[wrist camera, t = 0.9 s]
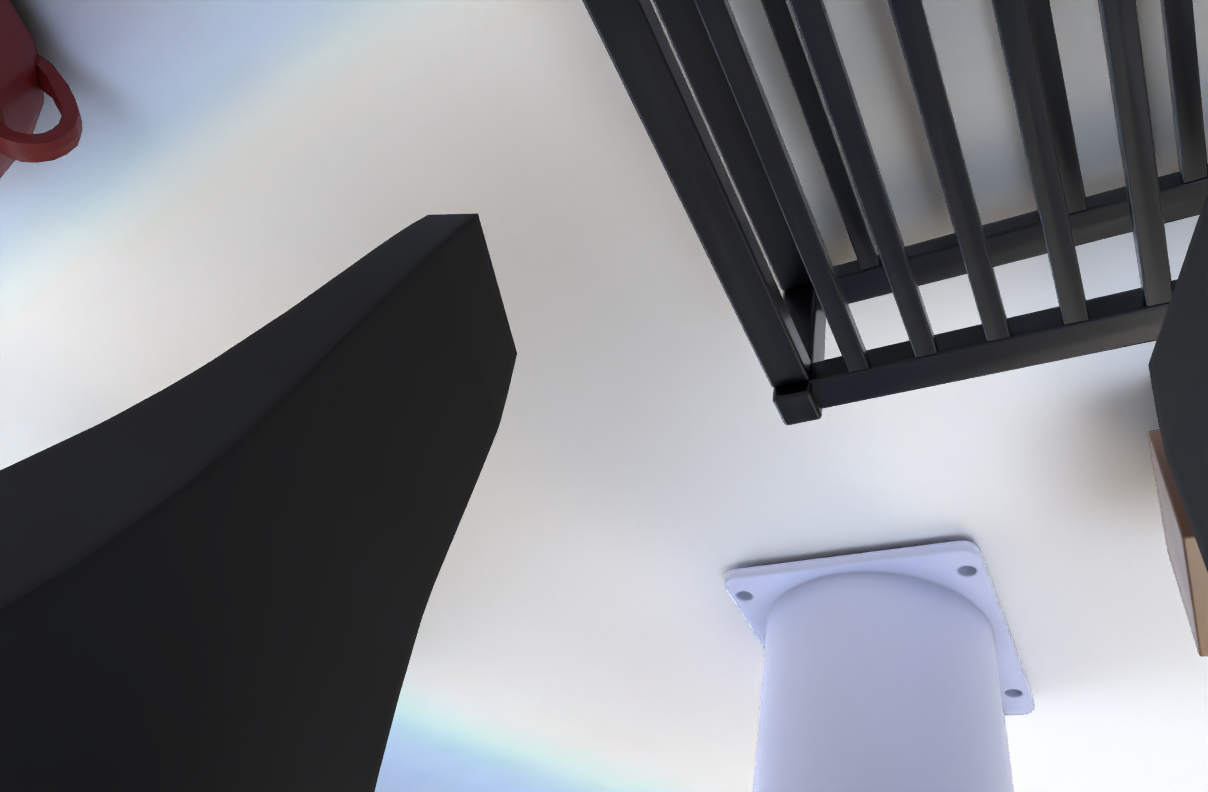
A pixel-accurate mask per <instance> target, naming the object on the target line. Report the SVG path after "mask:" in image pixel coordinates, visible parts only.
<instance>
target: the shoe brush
mask: <svg viewBox="0 0 1208 792" xmlns="http://www.w3.org/2000/svg"><path fill="white" fill-rule="evenodd" d="M1148 437H1149V443H1150V449H1151V455H1152V461H1153V467H1154V473H1155V479H1156V485H1157V491H1158V497H1159V503H1160V509H1161V515H1162V521H1163V527H1164V533H1165V539H1166V545H1167V551H1168V554H1169V558H1170V561H1171V564H1172V568H1173V571H1174V574H1175V577H1176V581H1177V584H1178V587H1179V591H1180V594H1181V597H1182V601H1183V604H1184V607H1185V610H1186V614H1187V617H1188V620H1189V624H1190V627H1191V630H1192V633H1193V637H1194V640H1195V643H1196V647H1197V650H1198V653H1199V655H1200V656H1202V657H1203V656H1208V572H1207V569H1206V567H1205V564H1204V561H1203V558H1202V556H1201V553H1200V550H1199V548H1198V545H1197V542H1196V539H1195V537H1194V534H1193V531H1192V528H1191V526H1190V523H1189V520H1188V517H1187V515H1186V512H1185V509H1184V506H1183V503H1182V500H1181V498H1180V495H1179V492H1178V489H1177V486H1176V484H1175V481H1174V478H1173V475H1172V472H1171V469H1170V466H1169V463H1168V460H1167V457H1166V455H1165V451H1164V446H1163V441H1162V437H1161V432H1160V429H1159V430H1153V431H1149V432H1148Z"/></svg>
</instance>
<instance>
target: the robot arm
mask: <svg viewBox="0 0 1208 792" xmlns="http://www.w3.org/2000/svg"><path fill="white" fill-rule="evenodd" d="M516 356H517V352H516V348H515V344H514V341H513V337H512V334H511V330H510V327H509V323H508V319H507V316H506V312H505V309H504V305H503V302H502V298H501V295H500V291H499V287H498V284H497V280H496V277H495V273H494V270H493V266H492V262H491V259H490V255H489V252H488V248H487V245H486V241H485V237H484V234H483V230H482V227H481V223H480V220H479V216H478V214H446V215H427V216H425V217H424V218H422V219H420V220H418V221H416V222H415V223H413V224H411V225H410V226H408V227H406V228H405V229H403V230H402V231H400V232H399V233H397V234H396V235H394V236H393V237H391V238H390V239H388V240H387V241H385V242H384V243H383V244H381V245H380V246H378V247H377V248H375V249H374V250H373V251H371V252H370V253H368V254H367V255H365V256H364V257H363V258H361V259H360V260H358V261H357V262H356V263H354V264H353V265H351V266H350V267H349V268H347V269H346V270H344V271H343V272H342V273H340V274H339V275H337V276H336V277H335V278H333V279H332V280H330V281H329V282H328V283H326V284H325V285H323V286H322V287H321V288H319V289H318V290H316V291H315V292H314V293H312V294H311V295H309V296H308V297H307V298H305V299H304V300H302V301H301V302H300V303H298V304H297V305H295V306H294V307H292V308H291V309H290V310H288V311H287V312H285V313H284V314H282V315H281V316H279V317H278V318H276V319H275V320H273V321H271V322H270V323H268V324H267V325H265V326H264V327H262V328H261V329H259V330H258V331H256V332H255V333H253V334H252V335H250V336H249V337H247V338H246V339H244V340H243V341H241V342H240V343H238V344H237V345H235V346H234V347H232V348H230V349H229V350H227V351H226V352H224V353H223V354H221V355H220V356H218V357H217V358H215V359H214V360H212V361H211V362H209V363H207V364H206V365H204V366H202V367H201V368H199V369H198V370H196V371H194V372H193V373H191V374H189V375H188V376H186V377H184V378H182V379H181V380H179V381H177V382H176V383H174V384H172V385H170V386H169V387H167V388H165V389H163V390H162V391H160V392H158V393H156V394H154V395H152V396H151V397H149V398H147V399H145V400H143V401H141V402H140V403H138V404H136V405H134V406H132V407H130V408H129V409H127V410H125V411H123V412H121V413H119V414H118V415H116V416H114V417H112V418H110V419H108V420H106V421H104V422H102V423H100V424H98V425H96V426H94V427H92V428H90V429H88V430H86V431H83V432H81V433H79V434H77V435H75V436H73V437H71V438H69V439H66V440H64V441H62V442H60V443H58V444H56V445H54V446H52V447H49V448H47V449H45V450H43V451H41V452H39V453H37V454H34V455H32V456H30V457H28V458H26V459H24V460H22V461H20V462H17V463H15V464H13V465H11V466H9V467H7V468H5V469H3V470H0V792H374V791H375V787H376V783H377V778H378V774H379V771H380V767H381V763H382V759H383V755H384V751H385V748H386V744H387V740H388V736H389V732H390V729H391V725H392V721H393V717H394V713H395V709H396V706H397V702H398V698H399V694H400V691H401V687H402V684H403V681H404V677H405V674H406V670H407V667H408V663H409V660H410V657H411V653H412V650H413V646H414V643H415V639H416V636H417V633H418V629H419V626H420V622H421V619H422V616H423V613H424V611H425V608H426V605H427V602H428V600H429V597H430V594H431V591H432V589H433V586H434V583H435V581H436V578H437V576H438V573H439V571H440V569H441V566H442V564H443V561H444V559H445V557H446V554H447V552H448V549H449V547H450V545H451V542H452V540H453V537H454V535H455V533H456V530H457V528H458V525H459V523H460V521H461V518H462V516H463V513H464V511H465V509H466V506H467V504H468V501H469V499H470V497H471V494H472V492H473V490H474V487H475V485H476V482H477V480H478V477H479V475H480V472H481V470H482V468H483V465H484V463H485V460H486V458H487V455H488V453H489V450H490V448H491V445H492V443H493V440H494V438H495V435H496V433H497V430H498V427H499V424H500V421H501V417H502V413H503V409H504V406H505V402H506V398H507V395H508V390H509V386H510V382H511V377H512V373H513V369H514V364H515V360H516ZM1149 371H1150V377H1151V383H1152V388H1153V394H1154V400H1155V406H1156V412H1157V417H1158V422H1159V427H1160V432H1161V437H1162V441H1163V446H1164V451H1165V455H1166V457H1167V460H1168V463H1169V466H1170V469H1171V472H1172V475H1173V478H1174V481H1175V484H1176V486H1177V489H1178V492H1179V495H1180V498H1181V500H1182V503H1183V506H1184V509H1185V512H1186V515H1187V517H1188V520H1189V523H1190V526H1191V528H1192V531H1193V534H1194V537H1195V539H1196V542H1197V545H1198V548H1199V550H1200V553H1201V556H1202V558H1203V561H1204V564H1205V567H1206V569H1207V572H1208V196H1206V198H1205V201H1204V204H1203V207H1202V210H1201V213H1200V216H1199V219H1198V222H1197V224H1196V227H1195V230H1194V233H1193V236H1192V239H1191V242H1190V245H1189V248H1188V251H1187V254H1186V257H1185V260H1184V262H1183V265H1182V268H1181V271H1180V274H1179V277H1178V280H1177V283H1176V286H1175V289H1174V292H1173V295H1172V298H1171V301H1170V303H1169V306H1168V309H1167V312H1166V315H1165V318H1164V321H1163V324H1162V327H1161V330H1160V333H1159V336H1158V339H1157V341H1156V344H1155V347H1154V350H1153V353H1152V356H1151V359H1150V362H1149ZM724 585H725V588H726V589H727V591H728V592H729V594H730V596H731V597H732V599H733V600H734V602H735V603H736V605H737V606H738V608H739V609H740V611H741V613H742V614H743V616H744V617H745V619H746V620H747V622H748V623H749V625H750V627H751V628H752V630H753V631H754V633H755V634H756V636H757V637H758V639H759V641H760V642H761V644H762V645H763V647H764V648H765V652H764V664H763V676H762V688H761V700H760V712H759V724H758V736H757V748H756V760H755V771H754V783H753V792H1014V788H1013V780H1012V772H1011V764H1010V756H1009V747H1008V739H1007V731H1006V723H1005V715H1023V714H1028V713H1030V712H1032V711H1033V710H1034V709H1035V705H1034V698H1033V695H1032V692H1031V690H1030V687H1029V684H1028V681H1027V678H1026V676H1025V673H1024V670H1023V667H1022V665H1021V662H1020V659H1019V656H1018V653H1017V651H1016V648H1015V645H1014V642H1013V639H1012V637H1011V634H1010V631H1009V628H1008V625H1007V623H1006V620H1005V617H1004V614H1003V611H1002V609H1001V606H1000V603H999V600H998V598H997V595H996V592H995V589H994V586H993V584H992V581H991V578H990V575H989V572H988V570H987V567H986V564H985V561H984V558H983V556H982V553H981V550H980V548H979V547H978V546H977V545H976V544H974V543H972V542H969V541H952V542H944V543H936V544H928V545H921V546H913V547H905V548H897V549H889V550H881V551H873V552H865V553H857V554H850V555H842V556H834V557H826V558H818V559H810V560H802V561H794V562H786V563H779V564H771V565H763V566H755V567H747V568H739V569H733V570H730V571H729V572H727V573H726V576H725V582H724Z"/></svg>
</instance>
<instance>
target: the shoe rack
mask: <svg viewBox="0 0 1208 792" xmlns="http://www.w3.org/2000/svg"><path fill="white" fill-rule="evenodd" d="M582 1H583V3H584V5H585V7H586V9H587V11H588V13H589V15H590V17H591V19H592V21H593V23H594V25H595V27H596V29H597V31H598V33H599V35H600V37H601V40H602V42H603V44H604V46H605V48H606V50H607V52H608V54H609V56H610V58H611V60H612V62H613V64H614V66H615V68H616V70H617V72H618V74H619V76H620V78H621V80H622V82H623V84H624V86H625V88H626V91H627V93H628V95H629V97H630V99H631V101H632V103H633V105H634V107H635V109H636V111H637V113H638V115H639V117H640V119H641V121H642V123H643V125H644V127H645V129H646V131H647V133H648V135H649V137H650V139H651V142H652V144H653V146H654V148H655V150H656V152H657V154H658V156H659V158H660V160H661V162H662V164H663V166H664V168H665V170H666V172H667V174H668V176H669V178H670V180H671V182H672V184H673V186H674V188H675V191H676V193H677V195H678V197H679V199H680V201H681V203H682V205H683V207H684V209H685V211H686V213H687V215H688V217H689V219H690V221H691V223H692V225H693V227H694V229H695V231H696V233H697V235H698V237H699V239H700V242H701V244H702V246H703V248H704V250H705V252H706V254H707V256H708V258H709V260H710V262H711V264H712V266H713V268H714V270H715V272H716V274H717V276H718V278H719V280H720V282H721V284H722V286H723V288H724V290H725V293H726V295H727V297H728V299H729V301H730V303H731V305H732V307H733V309H734V311H735V313H736V315H737V317H738V319H739V321H740V323H741V325H742V327H743V329H744V331H745V333H746V335H747V337H748V339H749V341H750V344H751V346H752V348H753V350H754V352H755V354H756V356H757V358H758V360H759V362H760V364H761V366H762V368H763V370H764V372H765V374H766V376H767V378H768V380H769V382H770V384H771V386H772V387H773V388H774V392H773V402H774V404H775V406H776V408H777V410H778V412H779V414H780V416H781V418H782V420H783V422H784V424H785V425H792V424H797V423H802V422H807V421H812V420H817V419H820V418H821V416H822V408H827V407H832V406H837V405H842V404H847V403H852V402H857V401H861V400H866V399H871V398H876V397H881V396H886V395H891V394H896V393H901V392H906V391H911V390H915V389H920V388H925V387H930V386H935V385H940V384H945V383H950V382H955V381H960V380H965V379H969V378H974V377H979V376H984V375H989V374H994V373H999V372H1004V371H1009V370H1014V369H1019V368H1023V367H1028V366H1033V365H1038V364H1043V363H1048V362H1053V361H1058V360H1063V359H1068V358H1073V357H1078V356H1082V355H1087V354H1092V353H1097V352H1102V351H1107V350H1112V349H1117V348H1122V347H1127V346H1132V345H1136V344H1141V343H1146V342H1151V341H1156V340H1157V339H1158V336H1159V333H1160V330H1161V327H1162V324H1163V321H1164V318H1165V315H1166V312H1167V309H1168V306H1169V303H1170V301H1171V298H1172V295H1173V292H1174V289H1175V286H1176V283H1177V280H1173V281H1171V274H1170V266H1169V259H1168V251H1167V243H1166V235H1165V227H1164V223H1168V222H1172V221H1176V220H1180V219H1184V218H1188V217H1192V216H1196V215H1200V213H1201V210H1202V207H1203V204H1204V201H1205V198H1206V196H1208V164H1207V156H1206V145H1205V134H1204V123H1203V112H1202V101H1201V89H1200V78H1199V67H1198V56H1197V45H1196V34H1195V23H1194V12H1193V1H1192V0H1160V1H1161V10H1162V19H1163V28H1164V37H1165V46H1166V55H1167V64H1168V73H1169V82H1170V91H1171V100H1172V109H1173V118H1174V127H1175V136H1176V145H1177V154H1178V163H1179V172H1175V173H1171V174H1168V175H1164V176H1161V177H1158V172H1157V164H1156V157H1155V149H1154V141H1153V133H1152V125H1151V117H1150V109H1149V102H1148V94H1147V86H1146V78H1145V70H1144V62H1143V54H1142V47H1141V39H1140V31H1139V23H1138V15H1137V7H1136V0H1098V5H1099V12H1100V19H1101V25H1102V32H1103V38H1104V45H1105V51H1106V58H1107V65H1108V71H1109V78H1110V84H1111V91H1112V97H1113V104H1114V111H1115V117H1116V124H1117V130H1118V137H1119V143H1120V150H1121V156H1122V163H1123V170H1124V176H1125V183H1126V186H1124V187H1121V188H1117V189H1113V190H1110V191H1106V192H1102V193H1099V194H1095V195H1091V196H1088V197H1085V192H1084V187H1083V181H1082V176H1081V171H1080V165H1079V160H1078V154H1077V149H1076V143H1075V138H1074V133H1073V127H1072V122H1071V116H1070V111H1069V105H1068V100H1067V94H1066V89H1065V84H1064V78H1063V73H1062V67H1061V62H1060V56H1059V51H1058V46H1057V40H1056V35H1055V29H1054V24H1053V18H1052V13H1051V8H1050V2H1049V0H991V1H992V5H993V10H994V14H995V19H996V23H997V28H998V32H999V37H1000V41H1001V46H1002V50H1003V55H1004V59H1005V64H1006V68H1007V73H1008V77H1009V82H1010V86H1011V91H1012V95H1013V100H1014V104H1015V109H1016V113H1017V118H1018V122H1019V127H1020V131H1021V136H1022V140H1023V145H1024V149H1025V154H1026V158H1027V163H1028V167H1029V172H1030V176H1031V181H1032V185H1033V190H1034V194H1035V199H1036V203H1037V208H1038V210H1037V211H1033V212H1030V213H1026V214H1022V215H1019V216H1015V217H1011V218H1008V219H1004V220H1001V221H997V222H993V223H990V224H986V225H982V224H981V220H980V216H979V212H978V209H977V205H976V201H975V198H974V194H973V190H972V186H971V183H970V179H969V175H968V171H967V168H966V164H965V160H964V156H963V153H962V149H961V145H960V141H959V138H958V134H957V130H956V127H955V123H954V119H953V115H952V112H951V108H950V104H949V100H948V97H947V93H946V89H945V85H944V82H943V78H942V74H941V70H940V67H939V63H938V59H937V56H936V52H935V48H934V44H933V41H932V37H931V33H930V29H929V26H928V22H927V18H926V14H925V11H924V7H923V3H922V0H888V3H889V7H890V10H891V14H892V17H893V21H894V24H895V28H896V31H897V34H898V38H899V41H900V45H901V48H902V52H903V55H904V59H905V62H906V65H907V69H908V72H909V76H910V79H911V83H912V86H913V90H914V93H915V97H916V100H917V103H918V107H919V110H920V114H921V117H922V121H923V124H924V128H925V131H926V134H927V138H928V141H929V145H930V148H931V152H932V155H933V159H934V162H935V165H936V169H937V172H938V176H939V179H940V183H941V186H942V190H943V193H944V197H945V200H946V203H947V207H948V210H949V214H950V217H951V221H952V224H953V228H954V231H955V233H953V234H950V235H946V236H942V237H939V238H935V239H932V240H928V241H924V242H921V243H917V244H913V245H910V246H906V247H905V246H904V243H903V240H902V237H901V234H900V231H899V228H898V225H897V222H896V219H895V216H894V213H893V210H892V207H891V204H890V201H889V198H888V195H887V192H886V189H885V186H884V183H883V180H882V177H881V174H880V171H879V168H878V165H877V162H876V159H875V156H874V153H873V150H872V147H871V144H870V141H869V138H868V135H867V132H866V129H865V126H864V123H863V120H862V117H861V114H860V111H859V108H858V105H857V102H856V99H855V96H854V93H853V90H852V87H851V84H850V81H849V78H848V75H847V72H846V69H845V66H844V63H843V60H842V57H841V54H840V51H839V48H838V45H837V42H836V39H835V36H834V33H833V30H832V27H831V24H830V21H829V18H828V15H827V12H826V9H825V6H824V3H823V0H789V1H790V4H791V7H792V10H793V13H794V16H795V18H796V21H797V24H798V27H799V30H800V33H801V35H802V38H803V41H804V44H805V47H806V49H807V52H808V55H809V58H810V61H811V64H812V66H813V69H814V72H815V75H816V78H817V80H818V83H819V86H820V89H821V92H822V94H821V92H820V89H819V86H818V83H817V80H816V78H815V75H814V72H813V69H812V66H811V64H810V61H809V58H808V55H807V52H806V49H805V47H804V44H803V41H802V38H801V35H800V33H799V30H798V27H797V24H796V21H795V18H794V16H793V13H792V10H791V7H790V4H789V2H788V0H761V2H762V5H763V7H764V10H765V13H766V15H767V18H768V21H769V23H770V26H771V29H772V31H773V34H774V37H775V40H776V42H777V45H778V48H779V50H780V53H781V56H782V58H783V61H784V64H785V66H786V69H787V72H788V74H789V77H790V80H791V82H792V85H793V88H794V90H795V93H796V96H797V98H798V101H799V104H800V107H801V109H802V112H803V115H804V117H805V120H806V123H807V125H808V128H809V131H810V133H811V136H812V139H813V141H814V144H815V147H816V149H817V152H818V155H819V157H820V160H821V163H822V165H823V168H824V171H825V174H826V176H827V179H828V182H829V184H830V187H831V190H832V192H833V195H834V198H835V200H836V203H837V206H838V208H839V211H840V214H841V216H842V219H843V222H844V224H845V227H846V230H847V232H848V235H849V238H850V241H851V243H852V246H853V249H854V251H855V254H856V257H857V259H858V260H855V261H852V262H848V263H844V264H841V265H837V266H833V265H832V263H831V260H830V258H829V255H828V253H827V250H826V248H825V245H824V243H823V240H822V238H821V235H820V233H819V230H818V227H817V225H816V222H815V220H814V217H813V215H812V212H811V210H810V207H809V205H808V202H807V200H806V197H805V195H804V192H803V189H802V187H801V184H800V182H799V179H798V177H797V174H796V172H795V169H794V167H793V164H792V162H791V159H790V157H789V154H788V151H787V149H786V146H785V144H784V141H783V139H782V136H781V134H780V131H779V129H778V126H777V124H776V121H775V119H774V116H773V113H772V111H771V108H770V106H769V103H768V101H767V98H766V96H765V93H764V91H763V88H762V86H761V83H760V81H759V78H758V75H757V73H756V70H755V68H754V65H753V63H752V60H751V58H750V55H749V53H748V50H747V48H746V45H745V43H744V40H743V37H742V35H741V32H740V30H739V27H738V25H737V22H736V20H735V17H734V15H733V12H732V10H731V7H730V5H729V2H728V0H653V2H654V4H655V6H656V8H657V11H658V13H659V15H660V17H661V20H662V22H663V24H664V26H665V29H666V31H667V33H668V35H669V38H670V40H671V42H672V44H673V47H674V49H675V51H676V53H677V56H678V58H679V60H680V62H681V65H682V67H683V69H684V71H685V74H686V76H687V78H688V80H689V83H690V85H691V87H692V89H693V92H694V94H695V96H696V98H697V101H698V103H699V105H700V107H701V110H702V112H703V114H704V116H705V119H706V121H707V123H708V126H709V128H710V130H711V132H712V135H713V137H714V139H715V141H716V144H717V146H718V148H719V150H720V153H721V155H722V157H723V159H724V162H725V164H726V166H727V168H728V171H729V173H730V175H731V177H732V180H733V182H734V184H735V186H736V189H737V191H738V193H739V195H740V198H741V200H742V202H743V204H744V207H745V209H746V211H747V213H748V216H749V218H750V220H751V222H752V225H753V227H754V229H755V231H756V234H757V236H758V238H759V240H760V243H761V245H762V247H763V249H764V252H765V254H766V256H767V258H768V261H769V263H770V265H771V267H772V270H773V272H774V274H775V276H776V279H777V281H778V283H779V285H780V288H781V289H782V290H783V298H782V296H781V294H780V291H779V289H778V287H777V285H776V283H775V280H774V278H773V276H772V274H771V271H770V269H769V267H768V265H767V262H766V260H765V258H764V256H763V253H762V251H761V249H760V247H759V244H758V242H757V240H756V238H755V235H754V233H753V231H752V229H751V226H750V224H749V222H748V220H747V217H746V215H745V213H744V211H743V209H742V206H741V204H740V202H739V200H738V197H737V195H736V193H735V191H734V188H733V186H732V184H731V182H730V179H729V177H728V175H727V173H726V170H725V168H724V166H723V164H722V161H721V159H720V157H719V155H718V152H717V150H716V148H715V146H714V143H713V141H712V139H711V137H710V135H709V132H708V130H707V128H706V126H705V123H704V121H703V119H702V117H701V114H700V112H699V110H698V108H697V105H696V103H695V101H694V99H693V96H692V94H691V92H690V90H689V87H688V85H687V83H686V81H685V78H684V76H683V74H682V72H681V69H680V67H679V65H678V63H677V61H676V58H675V56H674V54H673V52H672V49H671V47H670V45H669V43H668V40H667V38H666V36H665V34H664V31H663V29H662V27H661V25H660V22H659V20H658V18H657V16H656V13H655V11H654V9H653V7H652V4H651V2H650V0H582ZM822 95H823V97H824V100H825V103H826V106H827V109H828V111H829V114H830V117H831V120H832V123H833V125H832V123H831V120H830V117H829V114H828V111H827V109H826V106H825V103H824V100H823V97H822ZM833 126H834V128H835V131H836V134H837V137H838V140H839V142H840V145H841V148H842V151H843V154H844V156H843V154H842V151H841V148H840V145H839V142H838V140H837V137H836V134H835V131H834V128H833ZM844 157H845V159H846V162H847V165H848V168H849V170H848V168H847V165H846V162H845V159H844ZM849 171H850V173H849ZM850 174H851V176H852V179H853V182H854V185H855V187H854V185H853V182H852V179H851V176H850ZM855 188H856V190H857V193H858V196H859V199H860V201H859V199H858V196H857V193H856V190H855ZM860 202H861V204H860ZM861 205H862V207H863V210H864V213H865V216H866V218H865V216H864V213H863V210H862V207H861ZM866 219H867V221H868V224H869V227H870V230H871V232H870V230H869V227H868V224H867V221H866ZM1129 232H1133V235H1134V242H1135V248H1136V255H1137V262H1138V268H1139V275H1140V281H1141V288H1138V289H1134V290H1129V291H1125V292H1121V293H1116V294H1112V295H1107V296H1103V297H1099V298H1094V299H1090V300H1086V299H1085V294H1084V289H1083V284H1082V279H1081V274H1080V269H1079V264H1078V259H1077V254H1076V249H1075V246H1078V245H1082V244H1086V243H1090V242H1094V241H1097V240H1101V239H1105V238H1109V237H1113V236H1117V235H1121V234H1125V233H1129ZM871 233H872V235H871ZM872 236H873V238H874V241H875V244H876V246H875V244H874V241H873V238H872ZM876 247H877V249H876ZM877 250H878V252H879V254H878V252H877ZM1046 253H1048V257H1049V262H1050V266H1051V271H1052V276H1053V280H1054V285H1055V289H1056V294H1057V298H1058V303H1059V307H1055V308H1051V309H1046V310H1042V311H1037V312H1033V313H1029V314H1024V315H1020V316H1015V317H1011V318H1007V317H1006V313H1005V310H1004V306H1003V302H1002V298H1001V295H1000V291H999V287H998V283H997V280H996V276H995V272H994V269H993V267H995V266H999V265H1003V264H1007V263H1011V262H1015V261H1019V260H1023V259H1027V258H1031V257H1035V256H1038V255H1042V254H1046ZM964 274H968V277H969V281H970V284H971V288H972V291H973V295H974V298H975V302H976V305H977V308H978V312H979V315H980V319H981V322H982V324H980V325H976V326H972V327H967V328H963V329H959V330H954V331H950V332H945V333H941V334H937V335H934V333H933V330H932V327H931V324H930V321H929V318H928V315H927V312H926V309H925V306H924V303H923V300H922V297H921V294H920V291H919V288H918V286H920V285H924V284H928V283H932V282H936V281H940V280H944V279H948V278H952V277H956V276H960V275H964ZM889 293H893V295H894V298H895V300H896V303H897V306H898V309H899V312H900V315H901V317H902V320H903V323H904V326H905V329H906V331H907V334H908V337H909V340H910V341H906V342H902V343H897V344H893V345H888V346H884V347H880V348H875V349H871V350H867V351H866V349H865V347H864V344H863V341H862V339H861V336H860V334H859V331H858V329H857V326H856V324H855V321H854V319H853V316H852V314H851V311H850V309H849V306H848V304H850V303H853V302H857V301H861V300H865V299H869V298H873V297H877V296H881V295H885V294H889ZM826 318H827V321H828V323H829V325H830V328H831V330H832V333H833V335H834V337H835V340H836V342H837V345H838V347H839V349H840V352H841V354H842V356H840V357H836V358H831V359H827V360H824V350H825V325H826Z"/></svg>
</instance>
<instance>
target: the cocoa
mask: <svg viewBox="0 0 1208 792" xmlns="http://www.w3.org/2000/svg"><path fill="white" fill-rule="evenodd" d="M44 92H46V93H47V94H48V95H49V96H51V97H52V98H53V100H54V102H55V104H56V106H57V108H58V110H59V111H60V113H61V115H62V117H61V120H60V122H59V124H58V125H56V126H55V127H54V128H53V129H52V130H49V131H47V132H45V133H41V134H33V131H34V128H35V125H36V123H37V120H38V117H39V114H40V111H41V108H42V106H43V103H44ZM81 132H82V121H81V117H80V113H79V109H78V106H77V103H76V100H75V98H74V96H73V94H72V92H71V90H70V88H69V86H68V84H67V83H66V82H65V80H64V79H63V78H62V76H61V75H60V74H59V72H58V71H57V70H56V68H55V67H54V66H53V65H52V64H51V63H50V62H49V61H47V60H46V59H45V58H43V57H42V56H40V55H38V51H37V48H36V44H35V41H34V40H33V38H32V36H31V35H30V33H29V31H28V30H27V28H26V26H25V25H24V23H23V21H22V20H21V18H20V16H19V15H18V13H17V11H16V10H15V8H14V6H13V4H12V3H11V1H10V0H0V178H1V177H2V175H3V174H4V173H5V172H6V171H7V169H8V168H9V167H10V166H11V165H12V163H13V162H14V161H15V160H19V161H22V162H36V163H37V162H44V161H51V160H55V159H57V158H59V157H61V156H64V155H66V154H67V153H69V152H70V151H71V150H73V149H74V148H75V147H76V146H77V145H78V143H79V140H80V137H81Z"/></svg>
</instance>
